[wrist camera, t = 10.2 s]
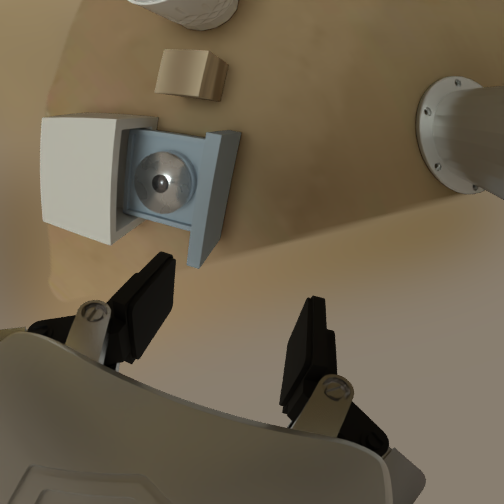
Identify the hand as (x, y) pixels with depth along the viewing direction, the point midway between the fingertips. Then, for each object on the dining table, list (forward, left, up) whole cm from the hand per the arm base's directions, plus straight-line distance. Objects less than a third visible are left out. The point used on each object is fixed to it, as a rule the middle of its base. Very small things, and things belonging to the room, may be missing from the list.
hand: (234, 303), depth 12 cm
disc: (+11, 0, -15) cm, 19 cm away
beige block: (+10, -10, -17) cm, 22 cm away
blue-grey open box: (+10, 0, -17) cm, 20 cm away
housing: (+20, 0, -18) cm, 26 cm away
